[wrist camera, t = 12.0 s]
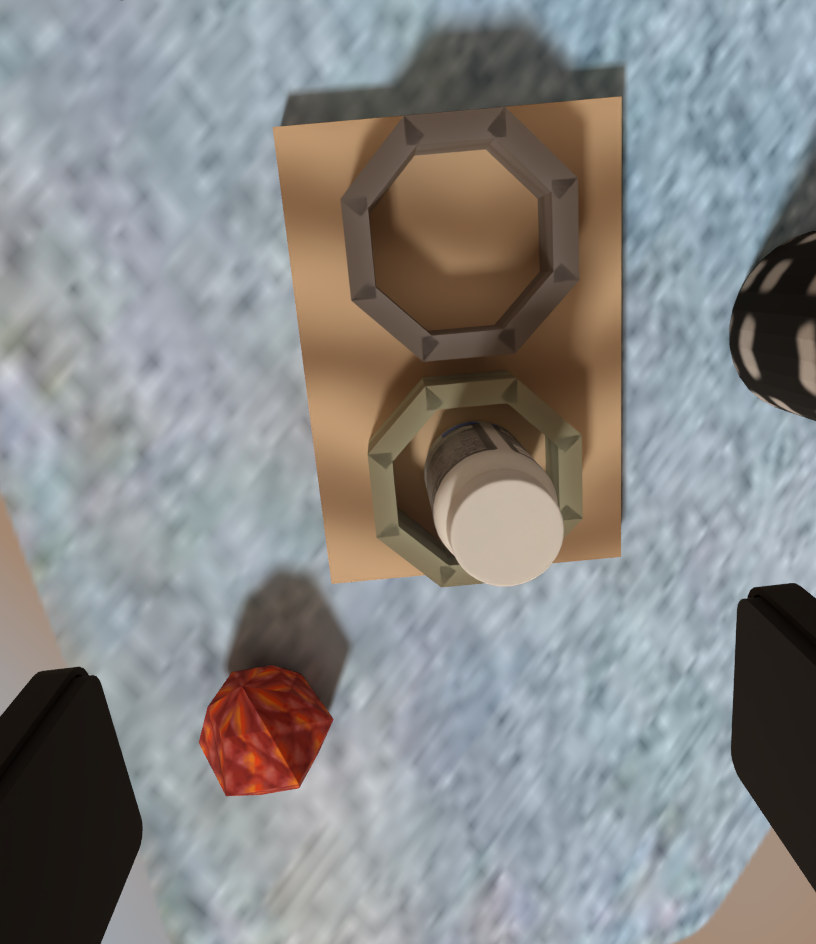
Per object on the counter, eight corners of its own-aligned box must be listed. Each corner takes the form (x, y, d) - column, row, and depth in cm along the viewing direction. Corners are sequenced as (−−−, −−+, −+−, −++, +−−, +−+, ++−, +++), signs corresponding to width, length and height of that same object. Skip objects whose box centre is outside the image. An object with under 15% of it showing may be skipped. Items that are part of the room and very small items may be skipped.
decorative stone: (240, 714, 39) (194, 629, 34) (354, 713, 38) (325, 626, 33) (208, 831, 34) (149, 753, 29) (338, 833, 33) (301, 753, 28)
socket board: (278, 134, 29) (261, 112, 25) (609, 105, 29) (644, 79, 25) (333, 570, 34) (327, 608, 30) (611, 544, 34) (639, 578, 30)
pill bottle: (420, 515, 32) (432, 594, 24) (427, 415, 31) (443, 464, 23) (520, 520, 32) (566, 600, 24) (531, 421, 31) (584, 472, 23)
